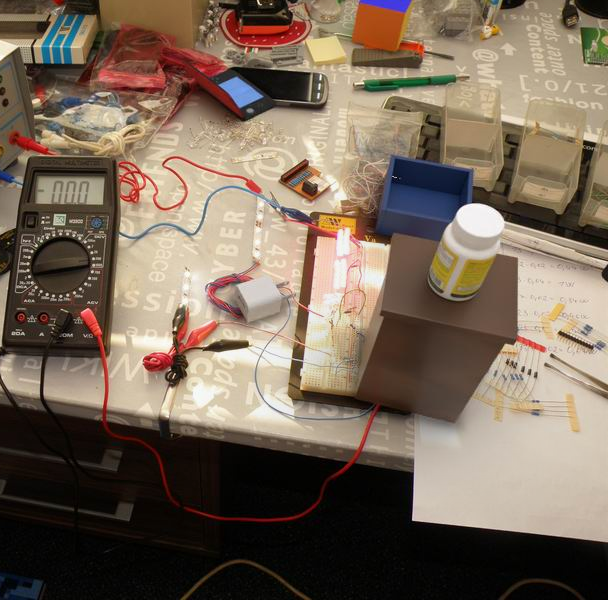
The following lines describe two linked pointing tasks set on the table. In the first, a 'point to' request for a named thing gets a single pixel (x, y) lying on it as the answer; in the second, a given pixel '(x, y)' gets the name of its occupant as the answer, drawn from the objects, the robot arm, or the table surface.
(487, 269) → the supplement bottle
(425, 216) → the parts bin
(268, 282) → the usb wall charger
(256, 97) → the handheld console
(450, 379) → the walnut stand
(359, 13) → the cube
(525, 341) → the table surface
